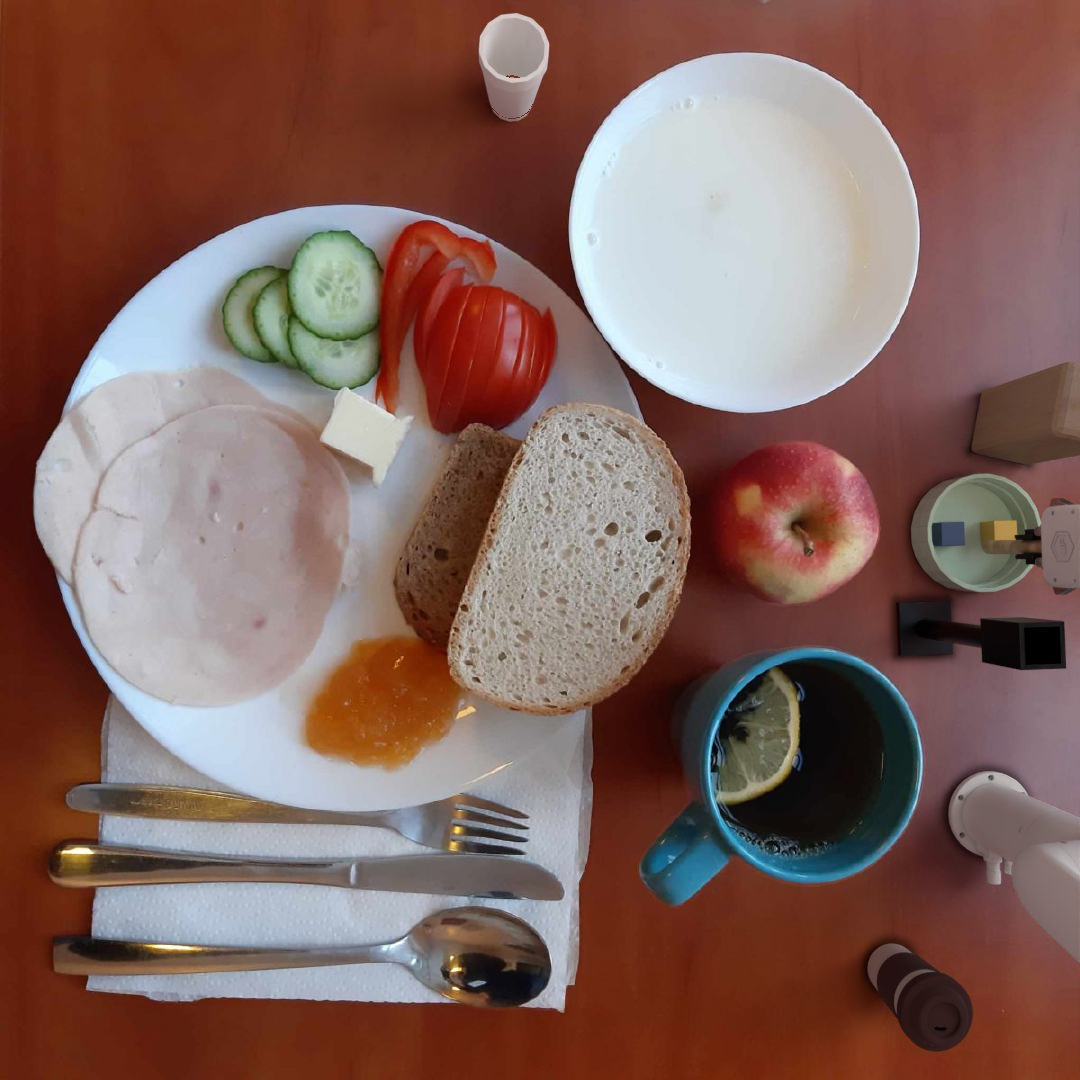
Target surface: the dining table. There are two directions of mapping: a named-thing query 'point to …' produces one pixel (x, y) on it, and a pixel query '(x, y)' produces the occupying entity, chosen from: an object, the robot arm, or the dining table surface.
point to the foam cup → (513, 63)
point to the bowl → (972, 531)
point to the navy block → (948, 534)
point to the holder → (981, 636)
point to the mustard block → (998, 530)
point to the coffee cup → (921, 998)
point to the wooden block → (1031, 417)
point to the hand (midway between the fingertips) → (1025, 546)
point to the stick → (1012, 547)
